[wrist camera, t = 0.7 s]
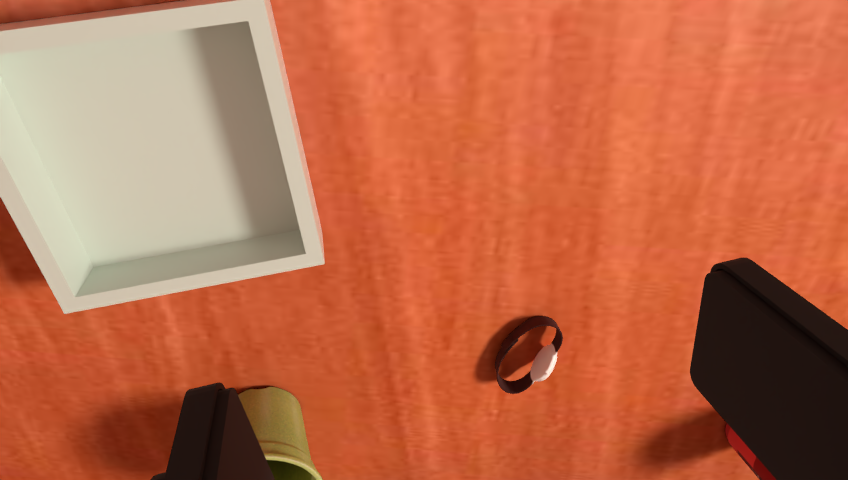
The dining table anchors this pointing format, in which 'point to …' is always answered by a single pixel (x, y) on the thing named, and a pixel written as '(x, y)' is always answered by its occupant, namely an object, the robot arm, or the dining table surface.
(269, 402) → the plant pot
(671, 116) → the dining table surface
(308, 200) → the tray
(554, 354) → the watch
